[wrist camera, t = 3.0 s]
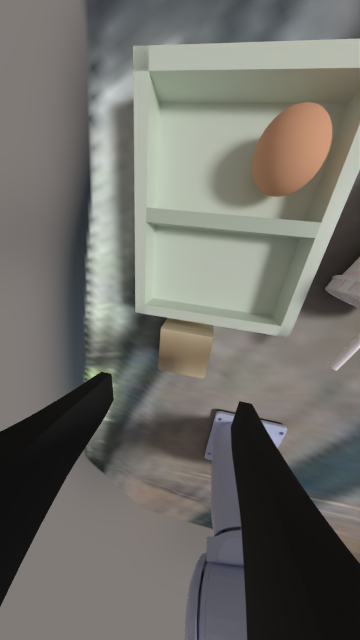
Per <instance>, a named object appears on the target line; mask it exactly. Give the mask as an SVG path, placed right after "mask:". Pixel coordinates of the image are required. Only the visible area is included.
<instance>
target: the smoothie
mask: <svg viewBox="0 0 360 640" xmlns="http://www.w3.org/2000/svg"><path fill="white" fill-rule="evenodd" d="M325 290H326V291H327V292H328V293H329V294H331V295H333V296H334V297H336V298H338V299H340V300H342V301H344V302H346V303H348V304H351V305H353V306H355V307H356V308H358V309H360V257H359V258H358V259H357V260H356V261H355V262H354V263H353V264H352V265H351V266H350V267H349V268H348V269H347V270H346V271H345V272H344V273H343V274H342V275H336V276H333V277H332V281H331V282H330V283H329V284H328V286H327V287H326V288H325ZM359 348H360V332H359V333H358V334H357V335H356V336H355V337H354V338H353V339H352V340H351V341H350V342H349V343H348V344H347V345H346V346H345V347H344V349H343V350H342V351H341V352H340V353H339V354H338V355H337V356H336V357H335V358H334V359H333V360H332V361H331V362H330V363H329V364H328V366H329V367H331V368H332V369H334V370H336V371H337V370H338V369H339V368H340V367H341V366H342V365H343V364H344V363H345V362H346V361H347V360H348V359H349V358H350V357H351V356H352V355H353V354H354V353H355V352H356V351H357V350H358V349H359Z"/></svg>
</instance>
